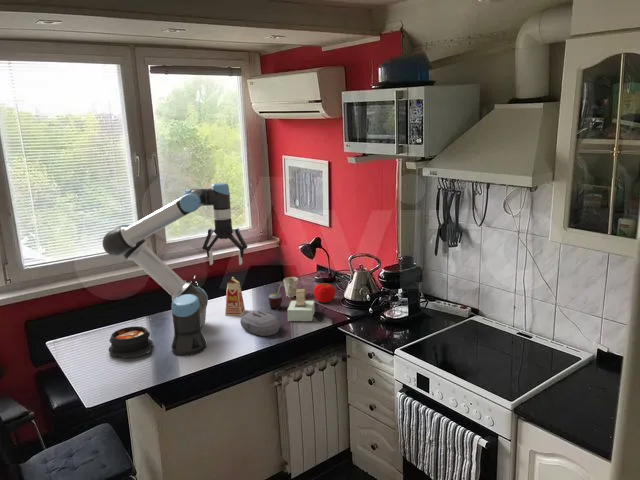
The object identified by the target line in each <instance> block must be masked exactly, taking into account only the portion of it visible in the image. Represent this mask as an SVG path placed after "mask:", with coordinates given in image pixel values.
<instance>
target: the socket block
mask: <svg viewBox="0 0 640 480" xmlns="http://www.w3.org/2000/svg"><path fill="white" fill-rule="evenodd" d="M305 305H306V307H297V303H296V300H290V303H289V306H288V307H287V310H286V311H287V322H289V321H290V322H291V321H312V322H313V320H314V319H313V318H314V316H313V315H315V311H316V310H315V308H316V307H315V300H305Z"/></svg>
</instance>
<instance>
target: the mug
mask: <svg viewBox="0 0 640 480" xmlns="http://www.w3.org/2000/svg"><path fill="white" fill-rule="evenodd" d="M283 282H284V283H283V285H284V290H285V296H286V297H287V296H288V297H287V298H295V297H294V296H296V291H297V289H299V288H298V285H299V278H298V277H296V276H288V277H285V278H283Z"/></svg>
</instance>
